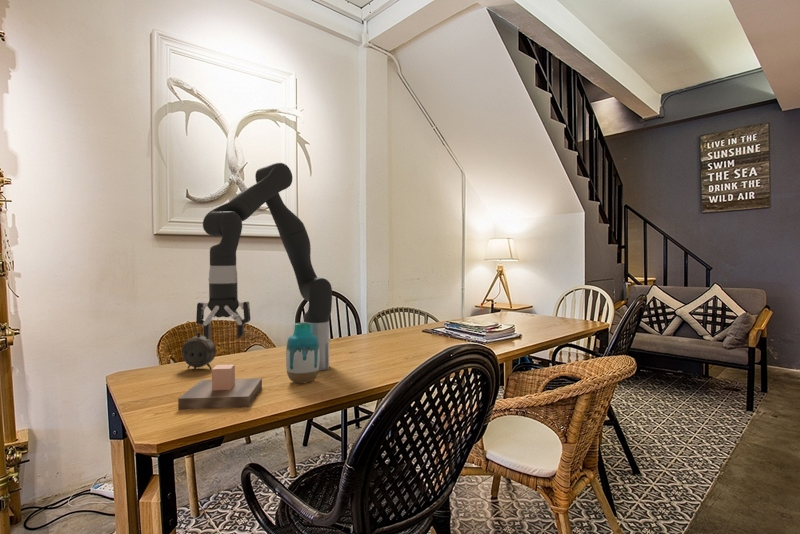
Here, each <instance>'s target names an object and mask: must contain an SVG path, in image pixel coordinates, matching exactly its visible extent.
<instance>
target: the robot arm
mask: <svg viewBox="0 0 800 534" xmlns="http://www.w3.org/2000/svg"><path fill="white" fill-rule="evenodd" d="M255 182H256V183H255V184H253V185H251V186H250V187H247V188H246V189H244V190H242V191H241V192H239V193H238V194H237V195H235V196H234V197H233V198H232V199H231V200H229V201H228V202H227V203H224V204H222V205H220V206H218V207H216V208H214V209H212V210H210V211H209V212H208V213H206V215H205V216H204V218H203V221H202V229H203V231H204V232H205V233H206V234H207V235H209V236H210V237H221V240H220V242H219V243H217V244H214V245H212V246H211V247H210V248H209V272H208V297H209V298H208V299H209V300H208V302H204V301H200V302H197V303H196V319H195V322H196V325H201V326H202V327H203V336H204V337H206V339H211V338H212V326H211V322H212V321H213V320H214V319H215V318H230V317H231V318H232V319H233V320H234V321H235V322H236V323H237V327H236V328H237V330H236V332H237V334H236V335H237V336H236V337H237V339H241V338H242V336H244V335H245V329H244V327H245V324H248V323H249V322H250V321H251V308H250V301H248V300H246V301H242V302H241V301H240V302H239V299H238V294H239V293H238V271H237V269H238V268H237V249H238V247H239V243H240V242H239V241H240V239H241V236H242V231H243V222H245V221H246V220H247V219H249V218H250V217H251V216H252V215H253V214H254V213H255V212H256V211H257V210H258V209H259V208H260V207H262V206H263V205H264V204H265V203H266V206H267V208H268V211H269V212H270V215H271V217H272V219H273V222H274V223H275V226H276V228H277V231H278V233H279V237H280V240H281V242H282V245H283V248H284V250H285V252H286V254H287V257H288V259H289V262H290V264H291V267H292V269H293V271H294V275H295V279H296V282H297V286H298V290H299V293H300V296H301V297H302V298H303V299H304V300H305V301H307V302H308V309H307V311H306V312H305V313H304V314H303V322H307V323H311V325H312V333H313V334H314V335H316V336H317V338H318V340H319V350H320V361H319V372H320V371H325V370H327V371H328V370H329V369H330V316H331V314H332V306H333V305H332V303H333V287H332V285H331V282H330V281H329V280H328V279H327V278H323V277H318V276H317V274H316V272H315V270H314V267H313V265H312V259H311V250H312V249H311V241H310V237H309V235H308V232H307V229H306V227H305V224H304V223H303V221H302V220H301V219H300V218H299V217H298V216H297V215H296V214H295V213H293V212H292V211H291V210H290V209H289V208H288V207H287V206H286V204H285V203H284V201H283V199H282V197H281V195H280V192H282V191H285V190H287V189H288V188H289V187H290V186H291V185H292V182H293V173H292V170H291V169H290V167H289V166H288V165H287V164H285V163H282V162H275V163H271V164H268V165H266V166H263V167H259V168H258V169H257V170H256V172H255ZM239 307H240V309H241V310H243V318H242V316H241V315H240V313H239V312H238V311H237V310H238V309H239ZM207 308H208V309H209V311H211V312H210V313H209V314H208V316H207V317H206V319H205V318H204V317H205V316H204V315H205V310H206V309H207Z"/></svg>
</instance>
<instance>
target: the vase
mask: <svg viewBox="0 0 800 534" xmlns="http://www.w3.org/2000/svg"><path fill="white" fill-rule="evenodd" d="M293 327H294V329H293V333H292V335H290V336H289V337H288V338H287V341H286V347H285V348H286V349H285V351H286V352H285V362H286V373H287V377H288V379H289V380H290V381H291V382H293V383H295V384H296V383H297V384H306V383H307V384H308V383H311V382H312V381H314V380H315V379H316V378H317V376H318V374H319V372H320V371H319V361H320V350H319V340H318V338H317V336H316V335H314V334H313V333H312V325H311V323H307V322H304V321H303V322H302V321H301V322H296V323H294V326H293Z"/></svg>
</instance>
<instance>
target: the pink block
mask: <svg viewBox="0 0 800 534" xmlns="http://www.w3.org/2000/svg"><path fill="white" fill-rule="evenodd" d="M235 379H236V364H216V365H215V366H214V367H212V369H211V380H212V390H231V389H232V388H233V386H234V385H235Z"/></svg>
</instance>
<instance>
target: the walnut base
mask: <svg viewBox="0 0 800 534" xmlns="http://www.w3.org/2000/svg"><path fill="white" fill-rule="evenodd" d="M262 385H263V379H262V378H261V377H259V378H258V377H255V378H235V385H234V386H233V388H232V389H231V390H212V379H200V380H199V381H198V382H196V383H195V384H194V385H193V386H191V388H189V389H188V390H187V391H185V392H184V393H183V394H182V395H180V397H178V398H177V400H178V401H177V405H178V406H177V409H178V411H182V410H183V411H184V410H187V409H190V410H208V409H209V410H213V409H214V410H216V409H218V408H219V409H241V408H242V407H243V409H244V407H250V406H251V405H252V404H253V402H254V401H255V400H256V397H257V396H258V394H259V393H260V391H261V390H262V388H263V386H262Z"/></svg>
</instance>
